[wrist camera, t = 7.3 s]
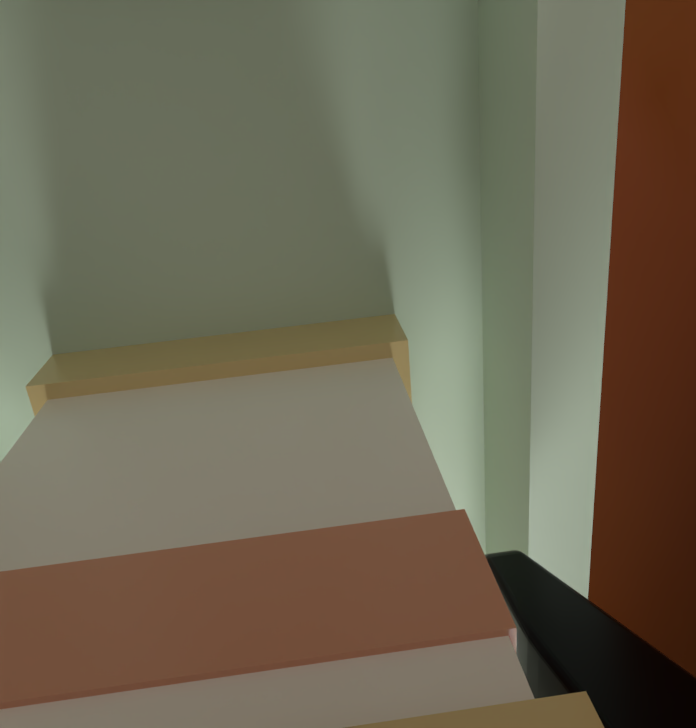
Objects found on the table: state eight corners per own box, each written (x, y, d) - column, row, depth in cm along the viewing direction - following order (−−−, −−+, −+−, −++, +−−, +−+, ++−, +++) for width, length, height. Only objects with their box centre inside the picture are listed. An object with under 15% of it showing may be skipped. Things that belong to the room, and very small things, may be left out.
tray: (532, -256, 7) (651, -420, 5) (519, 779, 14) (567, 919, 11) (-300, -192, 7) (-606, -337, 4) (97, 845, 13) (58, 1005, 11)
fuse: (394, 313, 9) (675, 864, 3) (412, 579, 11) (603, 1290, 4) (52, 354, 9) (-559, 1066, 2) (129, 619, 10) (-101, 1430, 4)
